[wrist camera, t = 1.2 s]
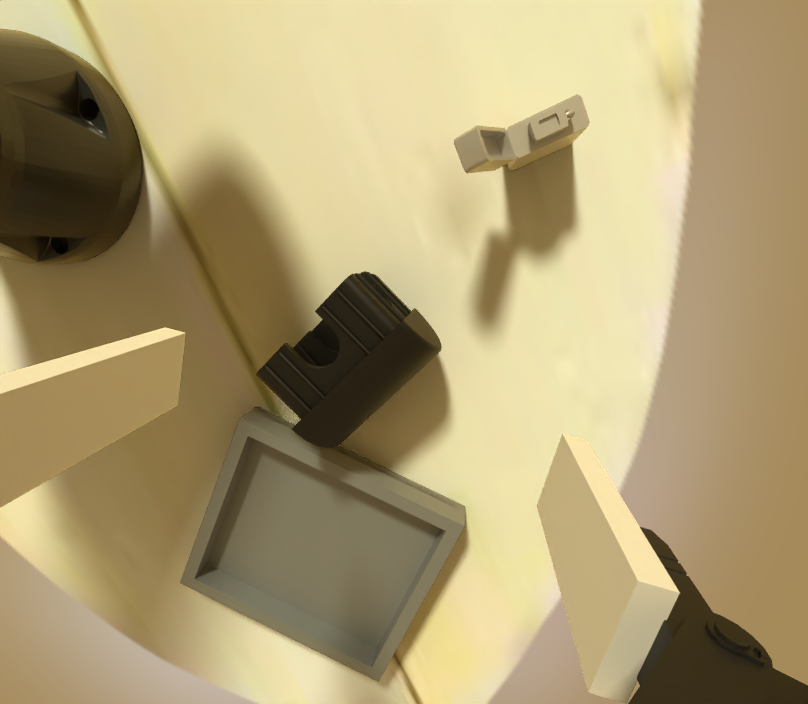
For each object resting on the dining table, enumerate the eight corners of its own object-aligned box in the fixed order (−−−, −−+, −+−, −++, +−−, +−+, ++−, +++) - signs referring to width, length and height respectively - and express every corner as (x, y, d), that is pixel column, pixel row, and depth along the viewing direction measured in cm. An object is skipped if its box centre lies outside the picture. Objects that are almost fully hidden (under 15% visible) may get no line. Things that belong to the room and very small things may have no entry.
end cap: (352, 424, 35) (324, 465, 28) (286, 359, 34) (243, 384, 28) (446, 337, 32) (440, 359, 26) (376, 265, 32) (352, 269, 25)
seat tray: (198, 561, 40) (180, 582, 37) (256, 406, 36) (239, 418, 33) (384, 653, 39) (378, 681, 36) (465, 506, 35) (464, 526, 32)
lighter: (564, 116, 28) (599, 65, 20) (573, 143, 28) (611, 103, 21) (456, 166, 30) (452, 136, 22) (466, 191, 30) (465, 171, 22)
